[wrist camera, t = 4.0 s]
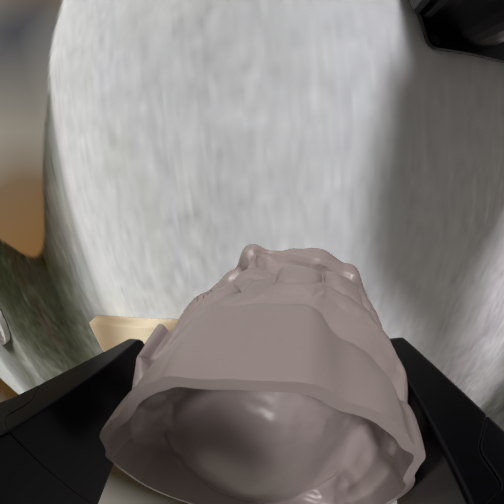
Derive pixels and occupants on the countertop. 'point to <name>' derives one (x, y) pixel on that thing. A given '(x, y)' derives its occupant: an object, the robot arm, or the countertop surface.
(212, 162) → the countertop surface
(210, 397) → the dental mold
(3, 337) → the mechanical component
